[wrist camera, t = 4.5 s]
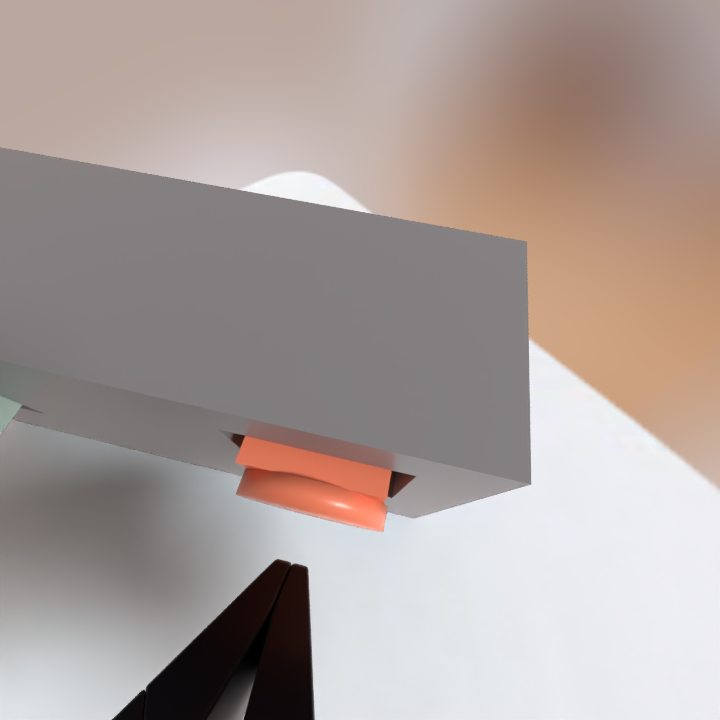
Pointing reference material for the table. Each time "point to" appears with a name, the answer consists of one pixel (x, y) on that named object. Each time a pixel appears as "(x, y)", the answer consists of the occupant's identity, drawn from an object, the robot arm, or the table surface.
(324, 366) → the control box
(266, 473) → the button red
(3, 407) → the button green
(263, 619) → the robot arm
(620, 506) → the table surface
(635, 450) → the table surface
